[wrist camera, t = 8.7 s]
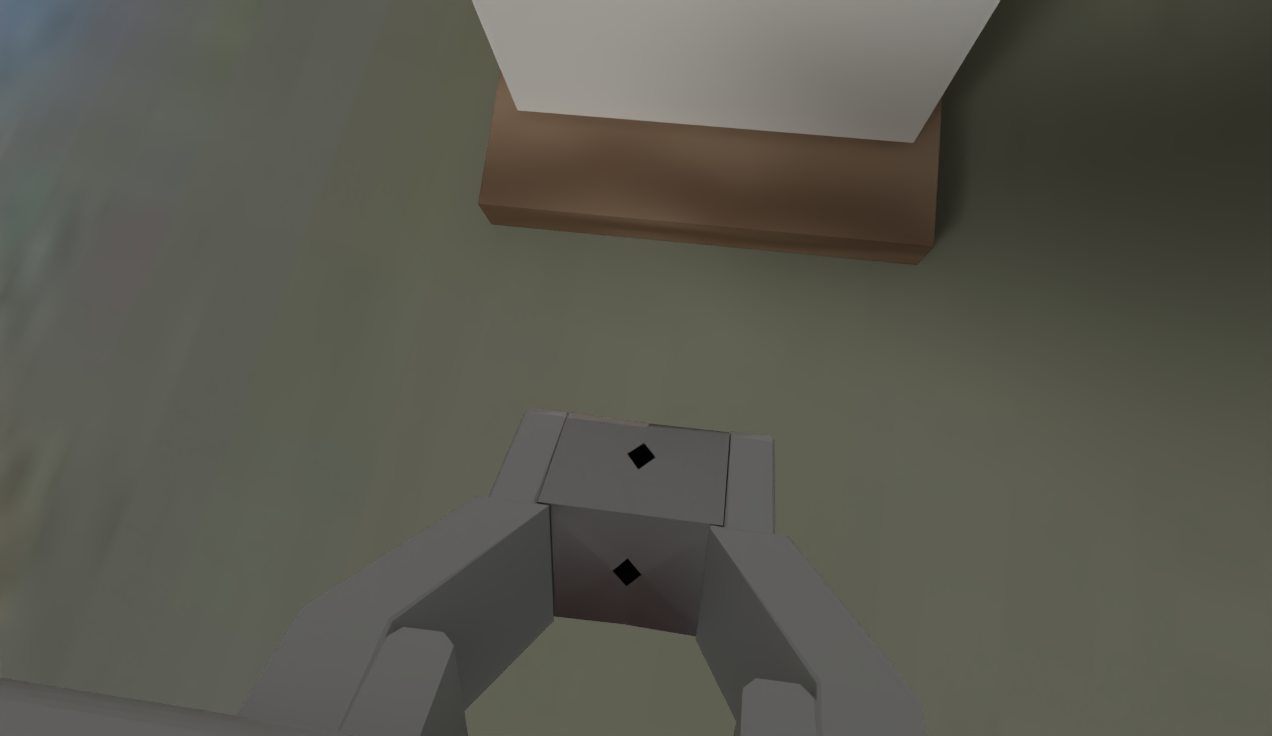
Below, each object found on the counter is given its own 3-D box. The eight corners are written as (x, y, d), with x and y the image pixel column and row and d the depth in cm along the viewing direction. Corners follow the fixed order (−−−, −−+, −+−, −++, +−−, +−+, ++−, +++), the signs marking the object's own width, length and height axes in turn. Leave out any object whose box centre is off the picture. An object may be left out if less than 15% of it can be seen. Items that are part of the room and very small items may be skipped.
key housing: (916, 264, 29) (976, 199, 23) (491, 224, 30) (444, 152, 24) (936, -70, 31) (995, -207, 25) (543, -94, 32) (512, -229, 27)
